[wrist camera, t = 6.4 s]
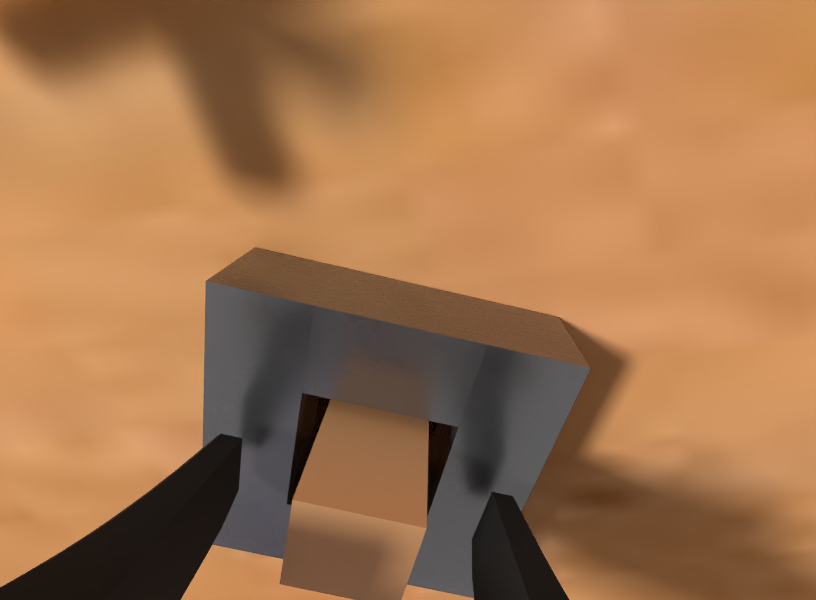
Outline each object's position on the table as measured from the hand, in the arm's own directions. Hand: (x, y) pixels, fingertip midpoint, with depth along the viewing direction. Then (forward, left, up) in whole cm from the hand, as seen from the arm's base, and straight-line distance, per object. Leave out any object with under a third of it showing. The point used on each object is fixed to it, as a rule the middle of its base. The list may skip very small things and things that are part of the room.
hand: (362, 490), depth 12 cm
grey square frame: (0, 0, -4) cm, 4 cm away
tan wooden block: (0, 0, -4) cm, 4 cm away
